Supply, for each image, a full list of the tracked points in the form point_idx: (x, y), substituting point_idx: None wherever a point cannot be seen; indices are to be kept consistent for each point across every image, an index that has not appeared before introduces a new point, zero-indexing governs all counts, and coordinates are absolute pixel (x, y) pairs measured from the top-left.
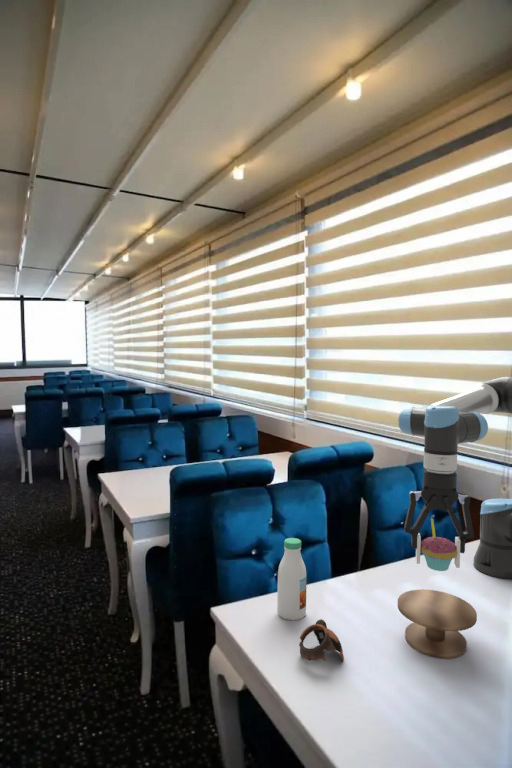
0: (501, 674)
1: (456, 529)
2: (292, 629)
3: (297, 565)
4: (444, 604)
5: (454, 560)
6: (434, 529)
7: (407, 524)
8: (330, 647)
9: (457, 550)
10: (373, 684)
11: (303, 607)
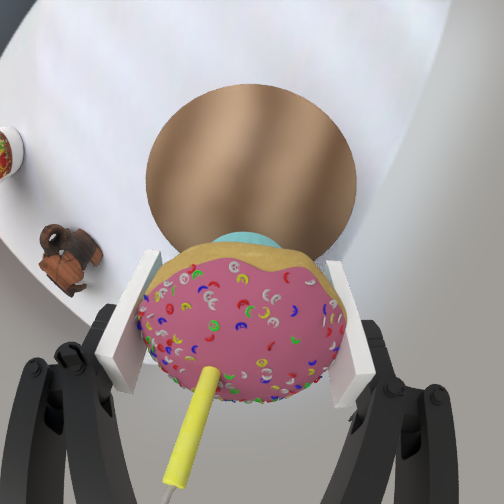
0: (344, 244)
1: (337, 465)
2: (24, 193)
3: None
4: (277, 175)
5: (328, 270)
6: (203, 425)
7: (51, 427)
8: (80, 290)
9: None
10: None
11: (11, 165)
